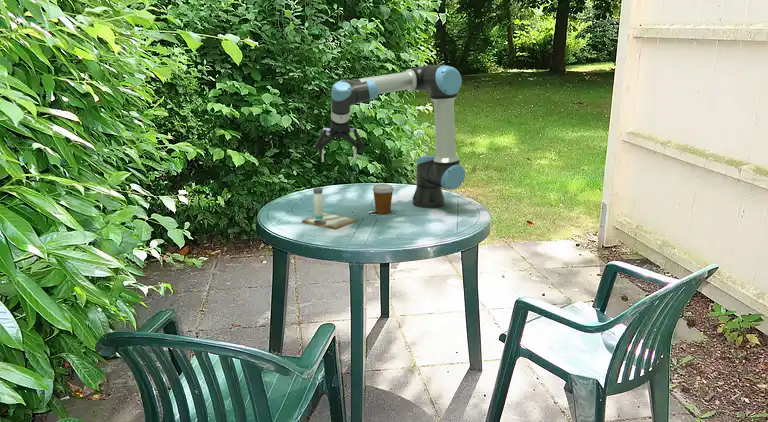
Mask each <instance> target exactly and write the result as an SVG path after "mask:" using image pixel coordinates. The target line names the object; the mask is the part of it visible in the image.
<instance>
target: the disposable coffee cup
mask: <svg viewBox="0 0 768 422" xmlns="http://www.w3.org/2000/svg"><path fill="white" fill-rule="evenodd" d="M393 187H394V186H393V185H392V184H386V183H383V184H381V183H378V184H375V185H373V188H372V192H373V197H374V198H373V199H374V207H375V213H377V214H378V215H388V214H390V213H391V207H392V199H393V192H394V188H393Z"/></svg>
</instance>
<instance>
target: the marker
mask: <svg viewBox="0 0 768 422" xmlns="http://www.w3.org/2000/svg"><path fill="white" fill-rule="evenodd" d="M323 201H324V200H323V187H314V188H313V204H314V205H313V206H314V207H313V208H314V209H313V210H314V212H313V213H314V216H315V219H323V213H324V207H323V205H324V204H323Z"/></svg>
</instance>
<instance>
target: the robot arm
mask: <svg viewBox="0 0 768 422" xmlns="http://www.w3.org/2000/svg"><path fill="white" fill-rule="evenodd" d="M462 83H463V79H462V76H461V74H460V72H459V70H458V69H457V68H455V67H453V66H449V65H443V64H442V65H441V64H439V65H438V64H427V65H422V66H417V67H413V68H408V69H406V71H404V72H403V71H401V72H395V73H390V74H389V73H388V74H383V75H375V76H368V77H362V78H355V79H349V80H348V79H341V80H339V81H337V82H335V83H333V85H332V87H331V95H330V96H331V100H330V101H331V105H330V106H331V108H330V126H329V127H326V126H323V127H322V131H321V133H320V134H319V136H318V137H317V139H316V141H315V142H314V148H315V149H318V154H319V156H321V163H324V160H325V159H324V158H325V155H324V154H325V147H326V146H327V145H328V144H330V143H331V142H332V141H333V140H334V139H335V140H337V139H338V140H339V139H341V140H343V139H345V140H347V141H348V142H349V143H350V144H351V145H352V146H353V157H352V158H353V162H356V161H357V155H359V154H360V149H361V148H363V149H364V142H363V140H362V138H361V136H360V134H359V133H358V131H357V127H356V126H353V127H350V118H351V108H352V106H354V105H357V104H360V103H364V102H368V101H372V100H374V99H376V98H377V97H378V96H379V95H381V94H386V93H392V92H399V91H405V90H408V91H409V92H414V91H415V92H416V91H420V92H429V99H430V101H432V102H433V110H434V111H433V112H434V113H433V114H434V130H435V131H434V134H435V150H436V151H435V152H436V153H435V154H436V155H435V154H434V155H433V154H431V155H422V156H418V157H417V158H416V159H417V160H416V164H415V165H416V186H415V191H414V193H413V197H412V205H414V206H416V207H419V208H428V209H429V208H430V209H431V208H433V209H434V208H440V207H444V205H445V196H444V193H443V190H442V189H444V190H450V191H451V190H452V191H453V190H456V189H458V188H459V187H461V185H462V184H463V183H464V181H465V179H466V170H465V168H464V167H463V166H462V165H461V161H460V157H459V156H458V155H457V153H456V152H457V150H456V148H457V147H456V130H455V129H456V126H455V123H456V122H455V103H454V102H455V100H456V99H457V98H458V93H459V91H460V89H461V88H462V85H463V84H462ZM328 133H329V134H328ZM350 133H352V134H353V135H354V137H355V138H353V136H351V134H350ZM327 134H328V135H327Z"/></svg>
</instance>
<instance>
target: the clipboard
mask: <svg viewBox="0 0 768 422" xmlns="http://www.w3.org/2000/svg"><path fill="white" fill-rule="evenodd" d="M357 221H358V219H357V218H354V217H348V216H343V215H338V214H332V213H326V212H323V219H315V215H314V216H311V217H308V218H305V219H303V220H301V223H302V224H307V225H312V226H317V227H322V228H326V229H331V230H338V229H341V228H342V227H344V226H348V225H350V224H352V223H355V222H357Z"/></svg>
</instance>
